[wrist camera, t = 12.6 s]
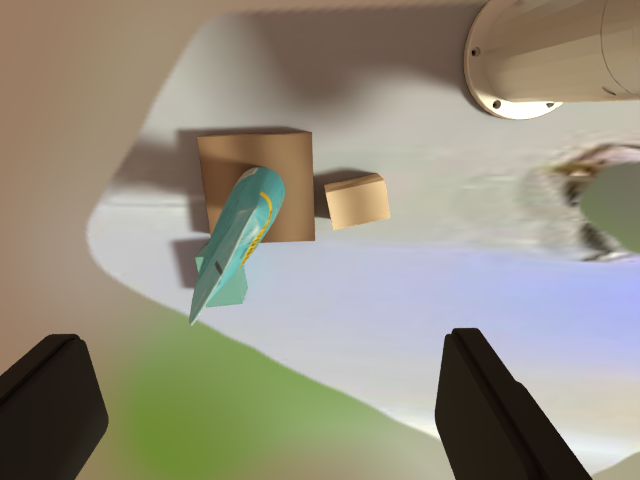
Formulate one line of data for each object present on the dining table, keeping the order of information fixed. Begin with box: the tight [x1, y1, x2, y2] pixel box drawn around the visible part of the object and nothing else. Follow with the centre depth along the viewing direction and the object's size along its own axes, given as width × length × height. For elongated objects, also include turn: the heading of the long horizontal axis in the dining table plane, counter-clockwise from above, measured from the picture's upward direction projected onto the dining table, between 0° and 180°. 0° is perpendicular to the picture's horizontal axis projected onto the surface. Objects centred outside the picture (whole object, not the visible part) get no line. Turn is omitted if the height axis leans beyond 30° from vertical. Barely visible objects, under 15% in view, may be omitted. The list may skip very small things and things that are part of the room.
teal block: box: [195, 245, 248, 307], centre depth 40 cm, size 6×4×4 cm, turn 5°
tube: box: [189, 167, 285, 325], centre depth 27 cm, size 7×5×19 cm, turn 154°
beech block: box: [324, 174, 390, 230], centre depth 38 cm, size 6×4×4 cm, turn 102°
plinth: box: [197, 132, 315, 243], centre depth 37 cm, size 11×11×3 cm
